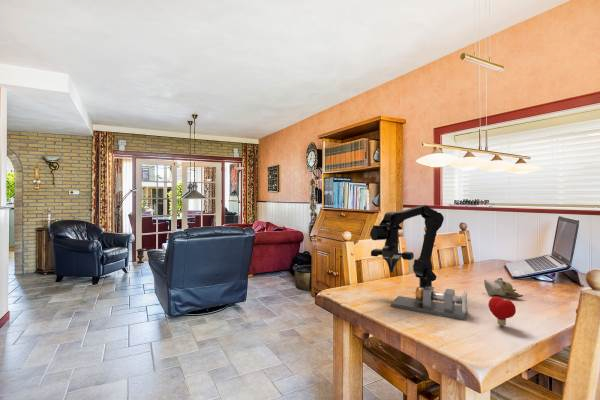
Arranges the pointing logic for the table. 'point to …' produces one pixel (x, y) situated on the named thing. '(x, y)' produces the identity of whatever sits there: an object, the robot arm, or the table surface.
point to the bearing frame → (434, 304)
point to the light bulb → (501, 309)
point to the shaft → (436, 296)
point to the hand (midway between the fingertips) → (391, 272)
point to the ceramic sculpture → (500, 288)
